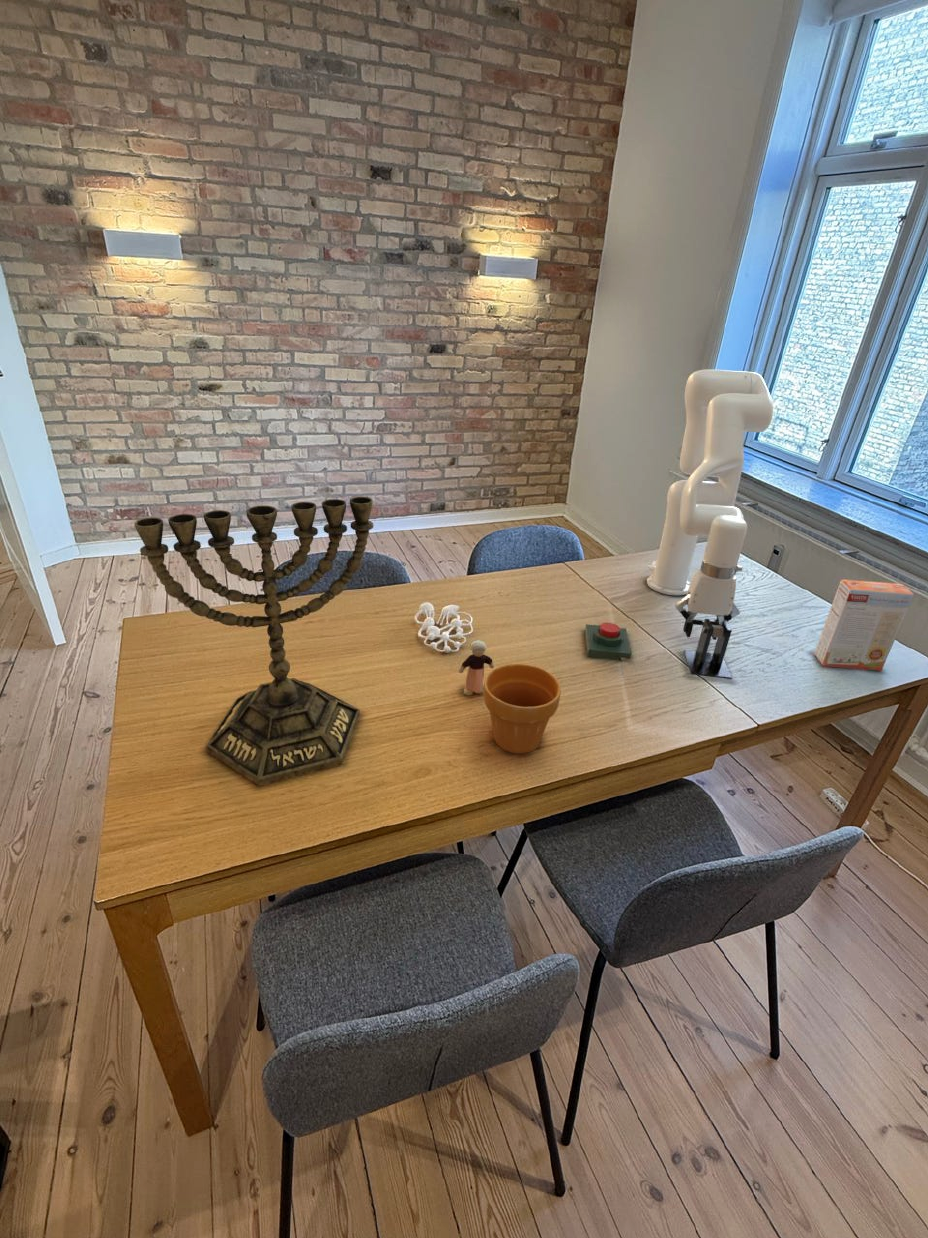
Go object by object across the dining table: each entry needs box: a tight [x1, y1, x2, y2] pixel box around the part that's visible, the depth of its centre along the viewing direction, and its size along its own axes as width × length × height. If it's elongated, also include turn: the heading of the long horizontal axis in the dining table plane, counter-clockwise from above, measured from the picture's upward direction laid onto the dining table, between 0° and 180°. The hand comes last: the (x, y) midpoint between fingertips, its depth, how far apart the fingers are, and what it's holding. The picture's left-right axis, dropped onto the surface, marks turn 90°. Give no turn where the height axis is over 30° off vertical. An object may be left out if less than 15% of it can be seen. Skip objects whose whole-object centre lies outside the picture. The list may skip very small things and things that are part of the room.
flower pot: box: [483, 663, 562, 754], centre depth 122 cm, size 14×14×13 cm
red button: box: [599, 622, 621, 638], centre depth 154 cm, size 5×5×2 cm
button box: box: [584, 624, 632, 661], centre depth 156 cm, size 12×10×4 cm
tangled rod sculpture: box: [414, 602, 474, 654], centre depth 157 cm, size 19×14×4 cm
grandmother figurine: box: [458, 639, 495, 697], centre depth 135 cm, size 8×4×13 cm, turn 118°
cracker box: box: [813, 579, 915, 672], centre depth 150 cm, size 14×6×21 cm, turn 84°
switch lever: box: [692, 618, 724, 639], centre depth 150 cm, size 13×6×2 cm, turn 173°
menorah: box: [133, 496, 374, 787], centre depth 112 cm, size 36×25×45 cm
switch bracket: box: [683, 618, 733, 680], centre depth 147 cm, size 10×9×12 cm
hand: (700, 635), depth 157 cm, fingers closed on switch lever, 5 cm apart
